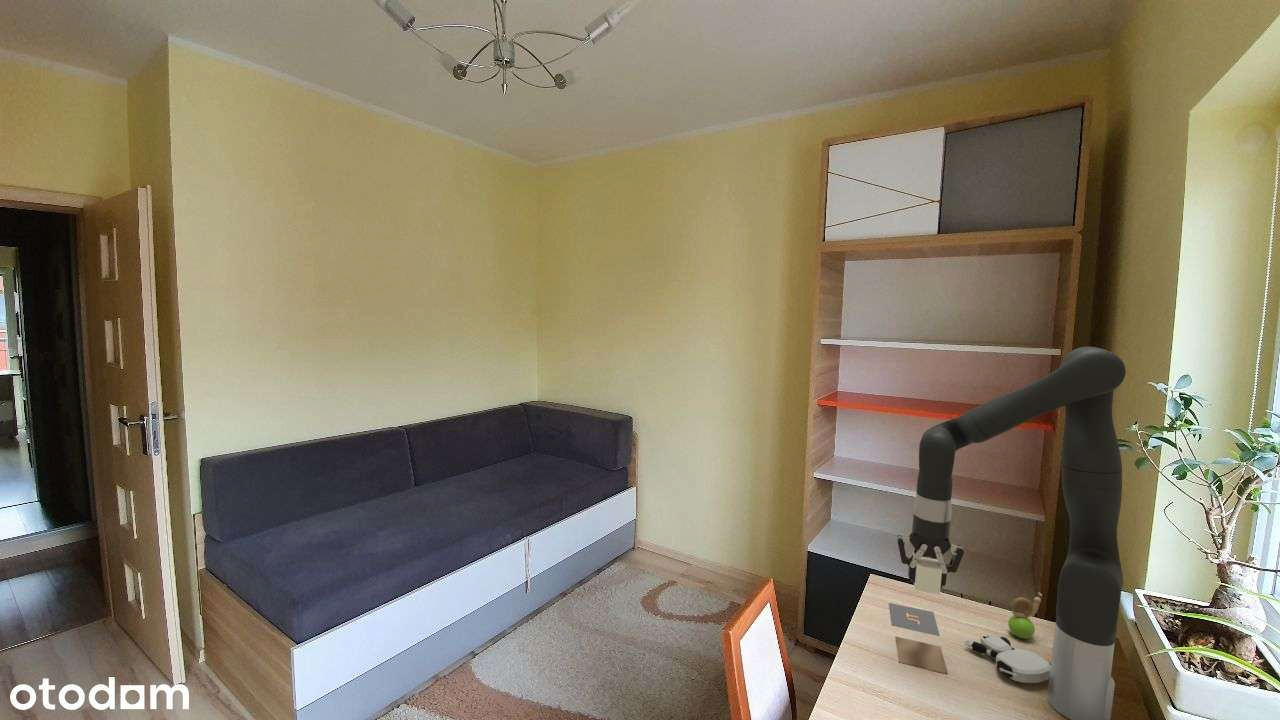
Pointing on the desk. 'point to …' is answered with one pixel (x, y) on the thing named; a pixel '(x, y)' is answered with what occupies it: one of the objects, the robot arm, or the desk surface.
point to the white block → (928, 576)
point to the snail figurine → (1023, 617)
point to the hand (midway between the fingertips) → (926, 583)
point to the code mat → (913, 619)
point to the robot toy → (1013, 660)
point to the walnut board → (920, 655)
